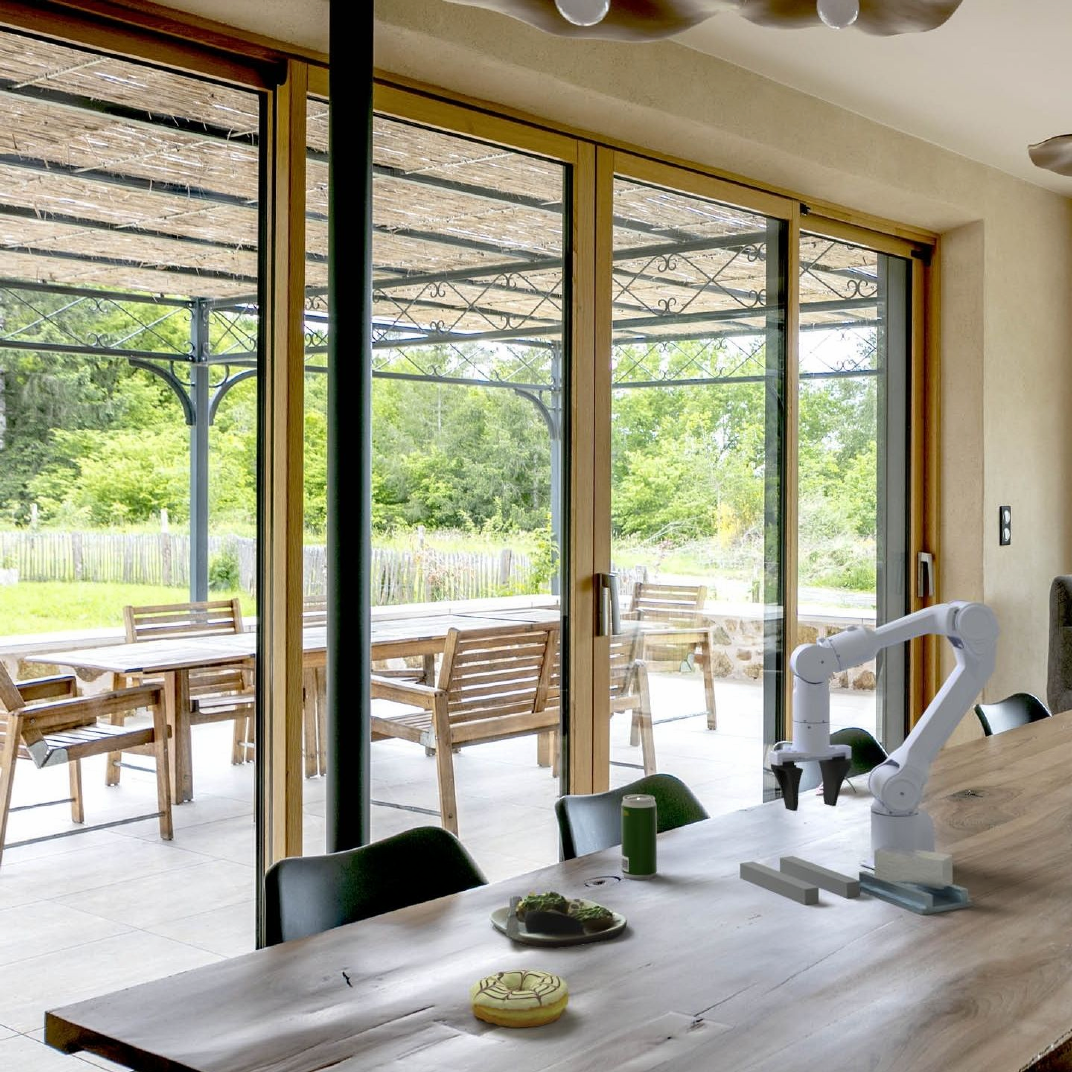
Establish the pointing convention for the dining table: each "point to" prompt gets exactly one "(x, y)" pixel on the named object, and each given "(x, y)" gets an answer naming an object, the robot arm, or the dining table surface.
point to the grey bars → (800, 880)
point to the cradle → (915, 895)
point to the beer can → (639, 836)
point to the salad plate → (557, 921)
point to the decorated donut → (519, 998)
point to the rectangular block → (913, 866)
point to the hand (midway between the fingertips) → (810, 807)
